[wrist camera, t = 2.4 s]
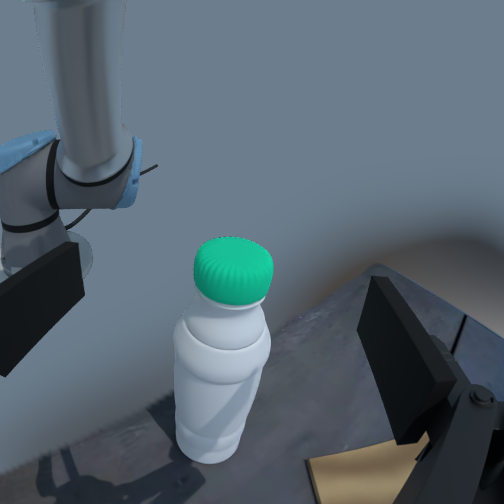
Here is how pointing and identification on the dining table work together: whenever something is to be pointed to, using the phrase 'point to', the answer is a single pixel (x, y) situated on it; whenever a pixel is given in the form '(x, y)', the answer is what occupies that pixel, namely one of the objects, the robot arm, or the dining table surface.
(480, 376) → the dining table surface
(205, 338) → the water bottle
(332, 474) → the gold metal sheet
